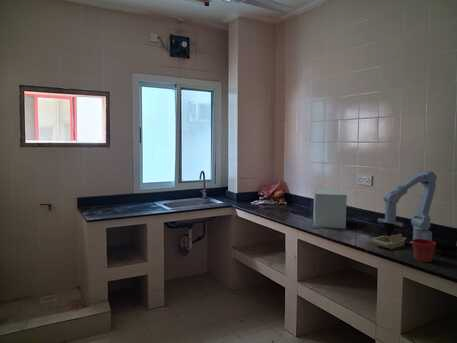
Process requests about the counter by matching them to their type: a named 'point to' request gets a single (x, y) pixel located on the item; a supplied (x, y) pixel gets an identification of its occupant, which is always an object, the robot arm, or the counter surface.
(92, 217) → the counter surface
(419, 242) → the flower pot
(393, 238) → the flap near
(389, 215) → the robot arm
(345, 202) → the cube
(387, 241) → the carton
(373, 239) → the flap far
